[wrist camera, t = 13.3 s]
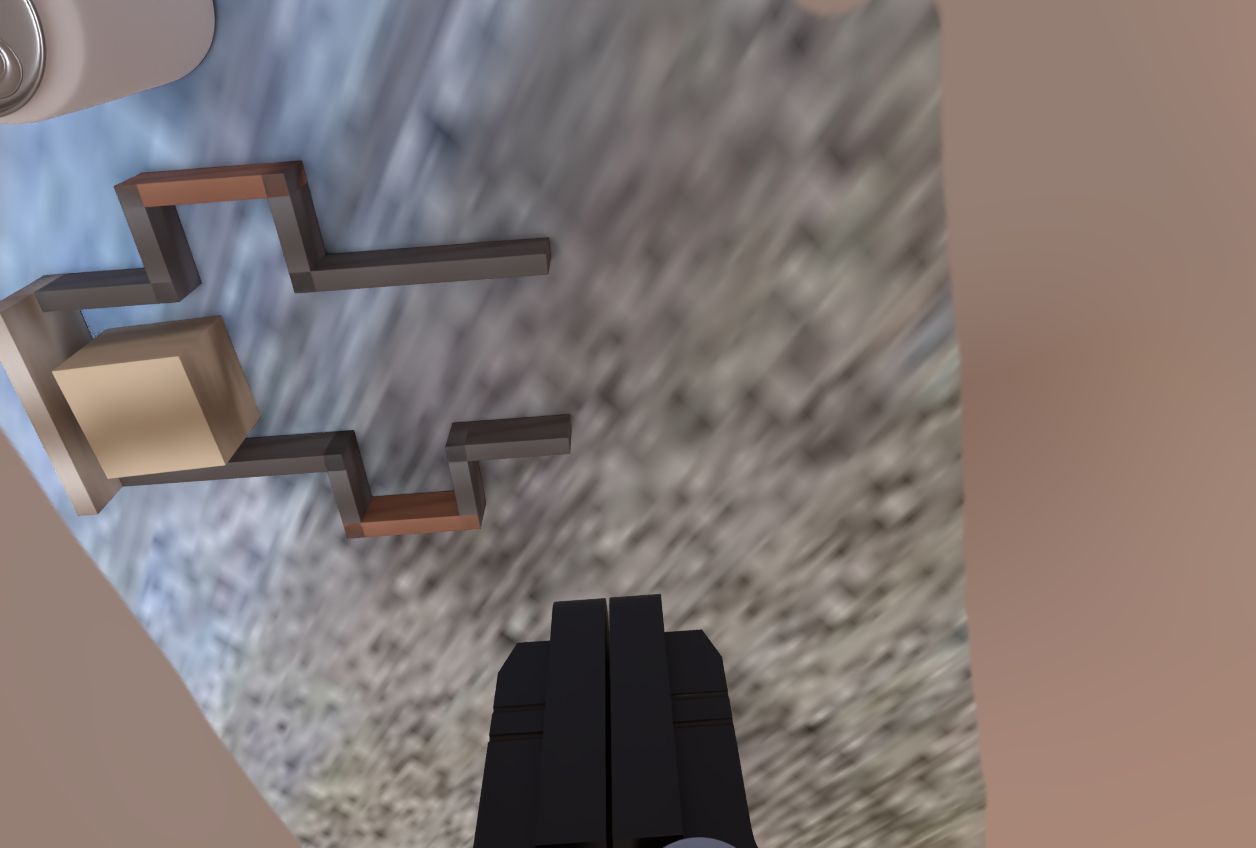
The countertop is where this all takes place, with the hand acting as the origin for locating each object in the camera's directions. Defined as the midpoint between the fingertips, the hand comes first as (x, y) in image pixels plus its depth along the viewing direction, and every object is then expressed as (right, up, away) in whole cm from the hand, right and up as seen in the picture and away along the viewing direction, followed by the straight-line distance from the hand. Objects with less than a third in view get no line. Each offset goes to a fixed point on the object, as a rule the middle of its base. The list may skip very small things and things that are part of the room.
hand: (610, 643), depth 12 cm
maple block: (-23, +6, +32) cm, 40 cm away
